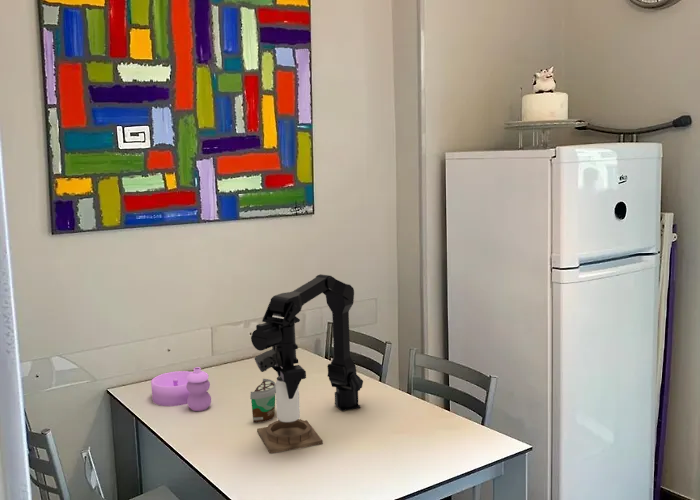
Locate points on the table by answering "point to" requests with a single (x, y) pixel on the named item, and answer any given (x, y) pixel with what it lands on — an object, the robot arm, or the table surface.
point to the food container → (263, 401)
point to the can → (286, 403)
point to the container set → (182, 389)
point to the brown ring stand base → (288, 436)
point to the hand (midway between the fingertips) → (287, 394)
